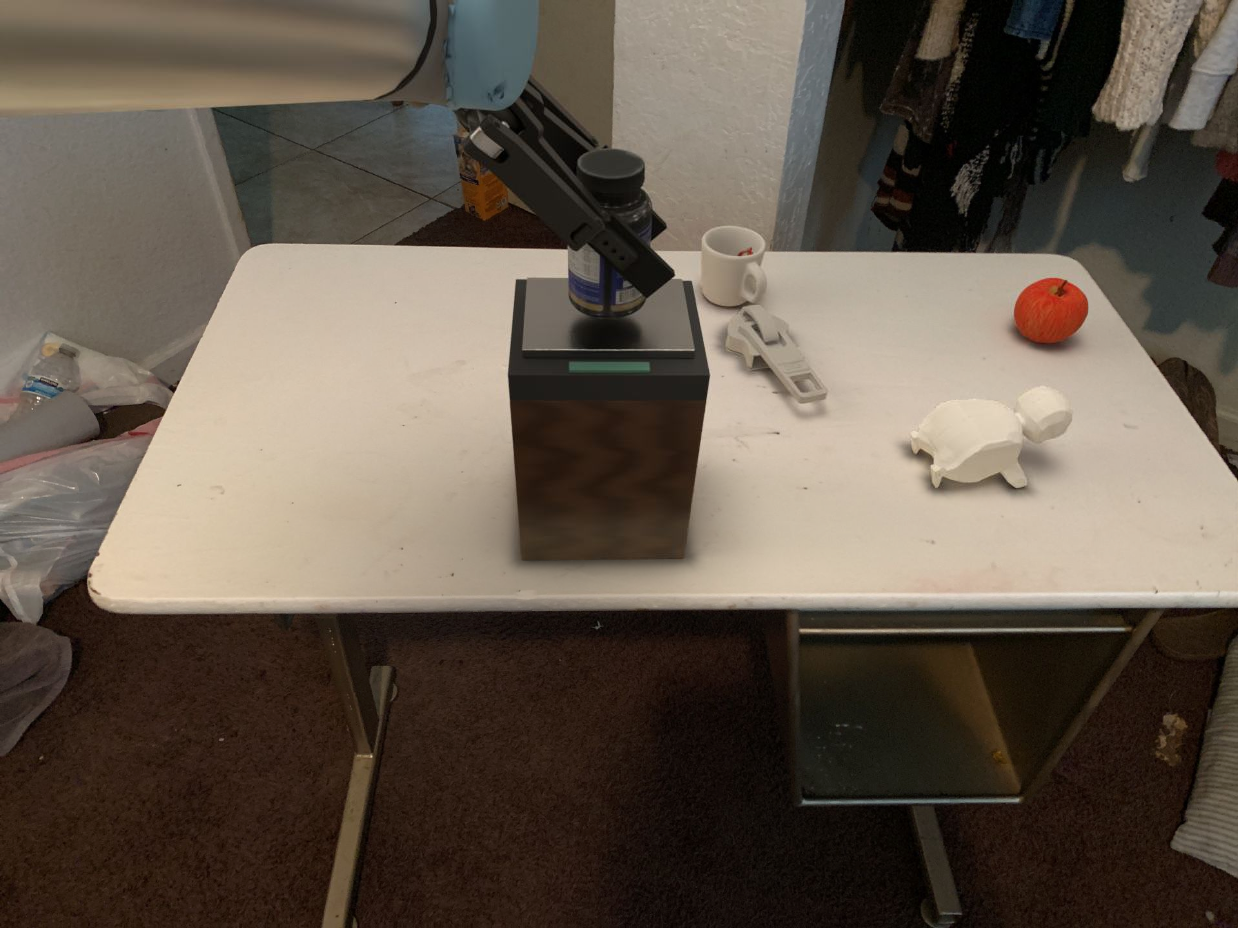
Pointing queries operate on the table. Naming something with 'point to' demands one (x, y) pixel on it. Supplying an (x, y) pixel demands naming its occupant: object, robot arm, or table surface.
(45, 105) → the robot arm
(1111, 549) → the table surface
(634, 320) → the scale
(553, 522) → the stand
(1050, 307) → the apple
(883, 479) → the table surface
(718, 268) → the cup
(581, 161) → the pill bottle
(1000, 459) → the white turtle figurine
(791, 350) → the zipper pull
